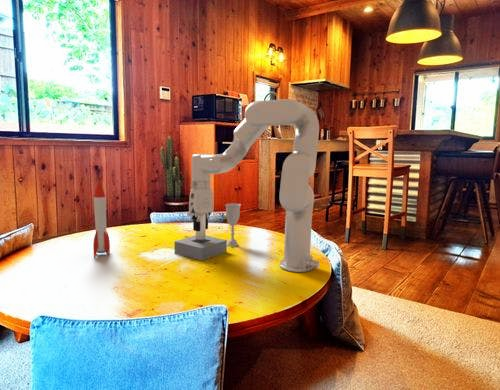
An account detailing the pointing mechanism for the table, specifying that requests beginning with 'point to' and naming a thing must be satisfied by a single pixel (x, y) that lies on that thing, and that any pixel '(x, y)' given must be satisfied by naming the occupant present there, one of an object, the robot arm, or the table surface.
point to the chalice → (232, 220)
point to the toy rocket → (100, 222)
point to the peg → (201, 227)
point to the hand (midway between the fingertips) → (200, 229)
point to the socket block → (200, 247)
